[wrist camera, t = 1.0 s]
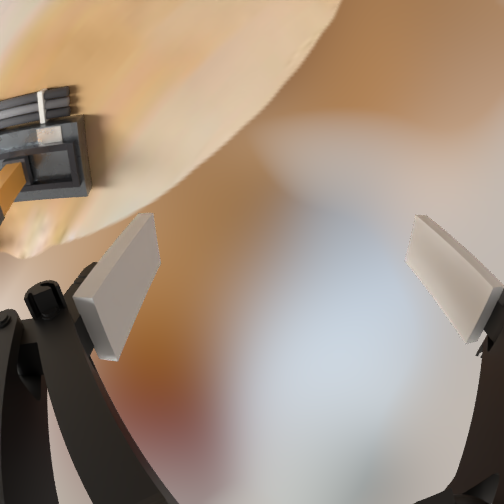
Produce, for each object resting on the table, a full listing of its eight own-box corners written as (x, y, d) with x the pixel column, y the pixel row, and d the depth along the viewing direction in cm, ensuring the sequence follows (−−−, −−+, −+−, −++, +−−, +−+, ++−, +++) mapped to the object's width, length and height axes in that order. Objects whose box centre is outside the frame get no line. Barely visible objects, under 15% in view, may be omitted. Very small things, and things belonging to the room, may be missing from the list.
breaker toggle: (12, 183, 32) (-20, 231, 25) (5, 158, 29) (-32, 204, 22) (33, 180, 34) (2, 229, 26) (27, 154, 30) (-9, 201, 23)
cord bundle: (-19, 133, 27) (-25, 138, 26) (-24, 106, 24) (-30, 111, 23) (71, 115, 32) (66, 119, 30) (69, 84, 28) (64, 87, 27)
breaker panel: (-10, 195, 35) (-20, 209, 32) (-27, 136, 27) (-40, 148, 24) (92, 185, 41) (85, 201, 38) (83, 114, 32) (74, 125, 29)
